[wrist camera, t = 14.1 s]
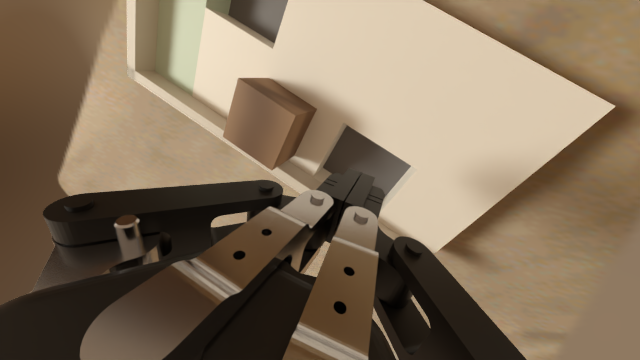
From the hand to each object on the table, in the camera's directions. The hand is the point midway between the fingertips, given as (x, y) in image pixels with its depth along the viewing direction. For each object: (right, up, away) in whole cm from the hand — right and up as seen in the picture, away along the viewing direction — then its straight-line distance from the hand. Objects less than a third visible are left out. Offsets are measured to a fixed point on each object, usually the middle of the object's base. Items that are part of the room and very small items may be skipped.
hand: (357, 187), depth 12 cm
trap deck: (-2, +9, +9) cm, 13 cm away
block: (-5, +6, +8) cm, 11 cm away
